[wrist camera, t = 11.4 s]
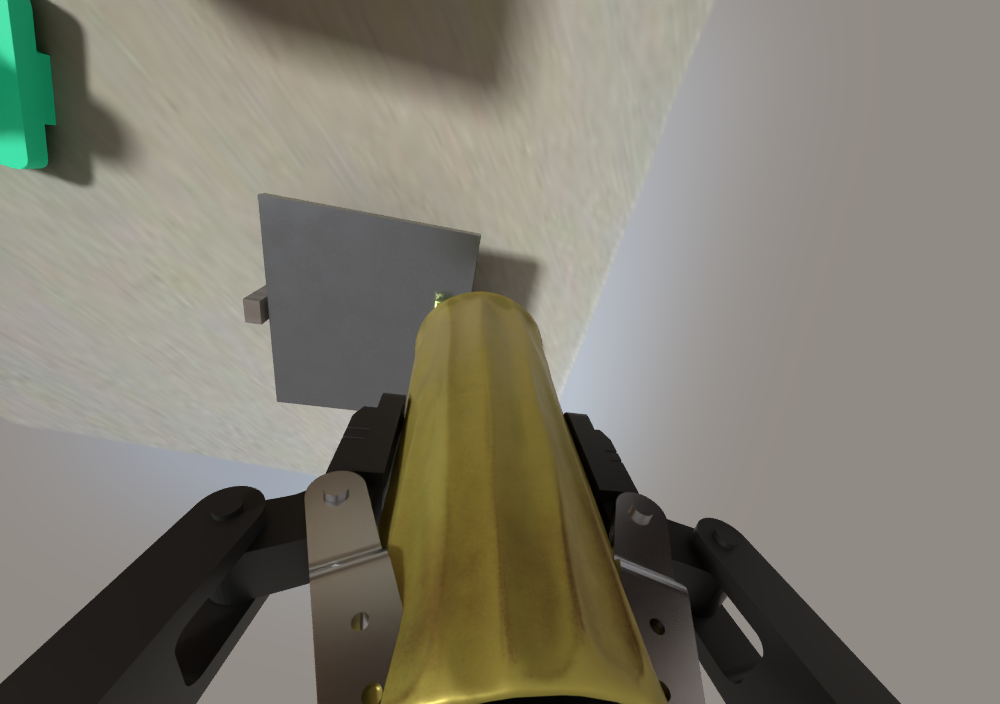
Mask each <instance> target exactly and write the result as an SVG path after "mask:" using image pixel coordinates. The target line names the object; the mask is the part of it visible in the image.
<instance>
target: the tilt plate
mask: <svg viewBox="0 0 1000 704" xmlns="http://www.w3.org/2000/svg"><path fill="white" fill-rule="evenodd" d="M258 201H259V212H260V222H261V233H262V244H263V255H264V266H265V276H266V287H267V298H268V309H269V320H270V330H271V341H272V352H273V363H274V374H275V385H276V395H277V402H285V403H294V404H303V405H312V406H321V407H330V408H339V409H348V410H357V411H359V410H360V409H361V408H362V407H364V406H368V407H378V404H379V402H380V399H381V396H382V394H383V393H392V394H401V395H406V404H405V411H406V405H407V398H408V391H409V385H410V380H411V374H412V369H413V364H414V359H415V343H416V338H417V335H418V331H419V329H420V327H421V324H422V322H423V321H424V319H425V318H426V316H427V315H428V314H429V313H430V312H431V311H432V310H433V309H434V308H435V307H436V306H438V305H439V304H441V303H442V302H444V301H445V300H447V299H449V298H451V297H454V296H457V295H460V294H465V293H469V292H472V286H473V280H474V274H475V268H476V262H477V256H478V250H479V244H480V238H481V234H478V233H473V232H468V231H463V230H457V229H452V228H447V227H441V226H436V225H431V224H425V223H420V222H415V221H410V220H404V219H399V218H394V217H388V216H383V215H378V214H372V213H367V212H362V211H357V210H351V209H346V208H341V207H335V206H330V205H325V204H320V203H314V202H309V201H304V200H298V199H293V198H288V197H282V196H277V195H272V194H267V193H263V194H258Z"/></svg>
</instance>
